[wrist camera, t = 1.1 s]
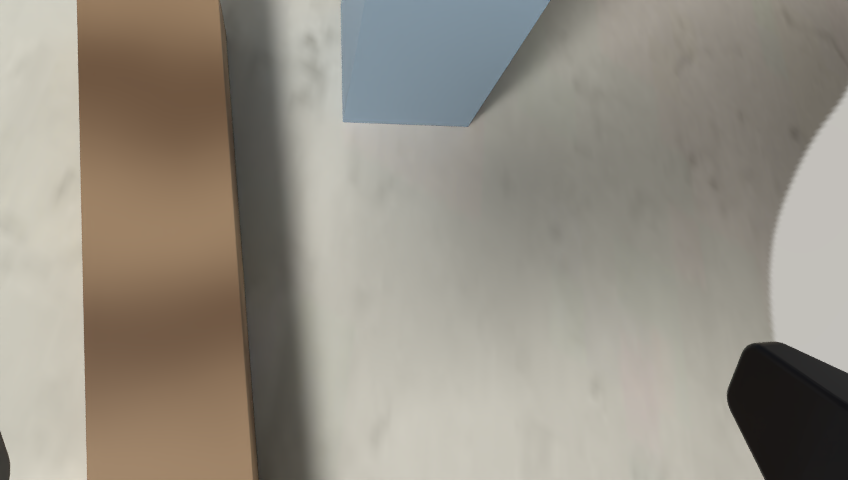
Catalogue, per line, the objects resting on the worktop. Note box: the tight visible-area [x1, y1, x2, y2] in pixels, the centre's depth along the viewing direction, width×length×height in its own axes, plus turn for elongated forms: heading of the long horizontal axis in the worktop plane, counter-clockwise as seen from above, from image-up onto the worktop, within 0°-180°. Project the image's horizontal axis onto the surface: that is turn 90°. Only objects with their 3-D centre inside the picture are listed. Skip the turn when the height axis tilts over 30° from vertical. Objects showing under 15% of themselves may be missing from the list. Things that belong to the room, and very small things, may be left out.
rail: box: [77, 0, 259, 480], centre depth 18 cm, size 22×4×2 cm, turn 7°
